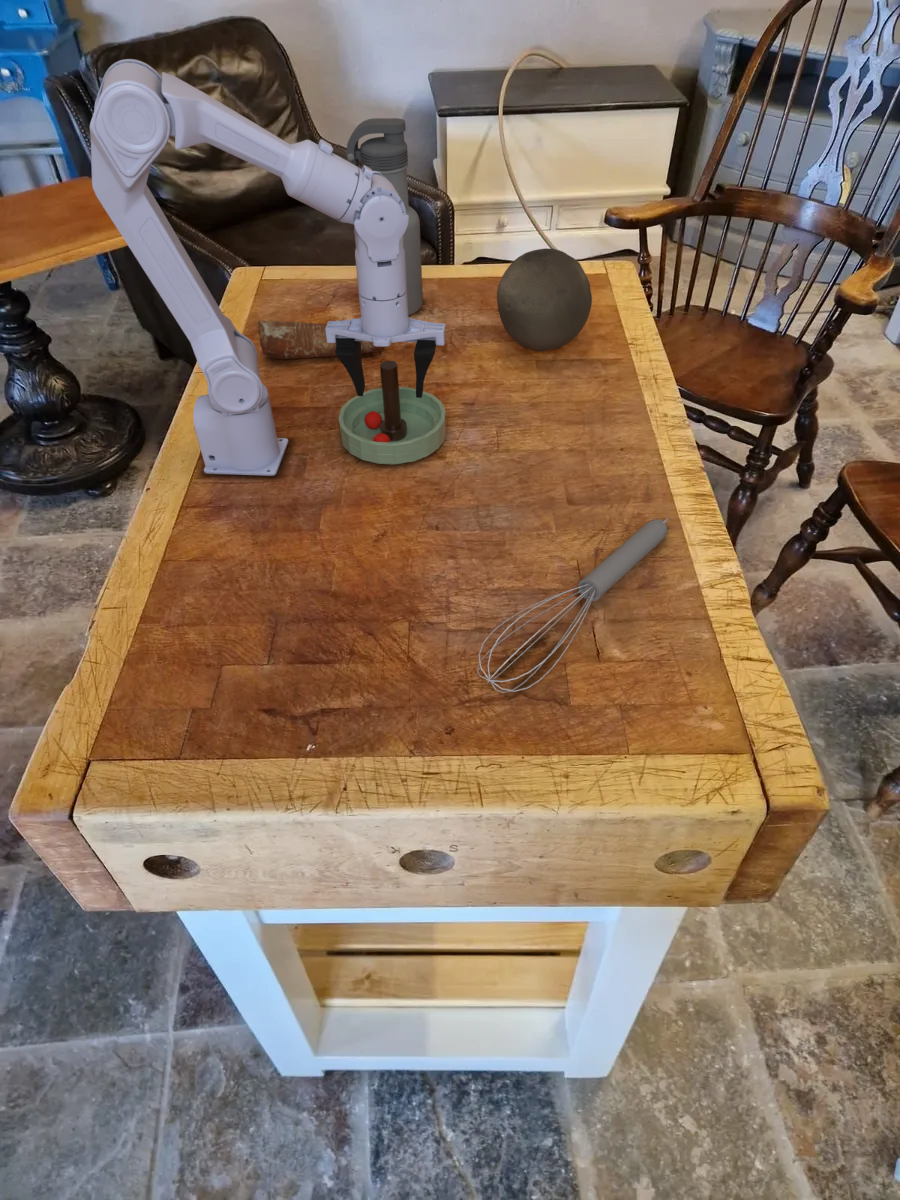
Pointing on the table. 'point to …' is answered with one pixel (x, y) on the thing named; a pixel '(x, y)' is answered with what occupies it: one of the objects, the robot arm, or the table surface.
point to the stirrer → (391, 402)
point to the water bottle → (392, 164)
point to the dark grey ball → (544, 299)
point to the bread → (299, 340)
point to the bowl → (417, 412)
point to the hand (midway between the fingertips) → (390, 392)
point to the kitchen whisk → (590, 589)
